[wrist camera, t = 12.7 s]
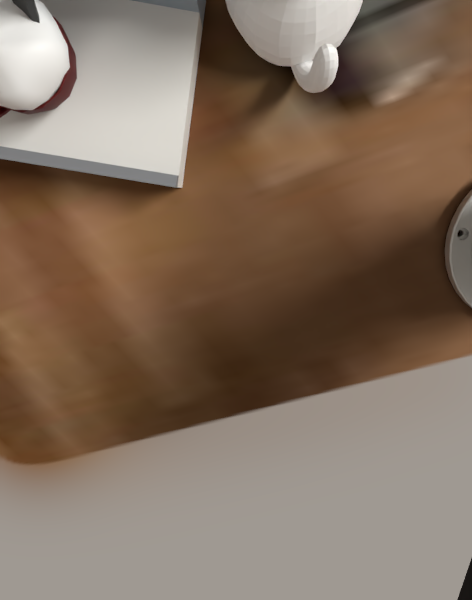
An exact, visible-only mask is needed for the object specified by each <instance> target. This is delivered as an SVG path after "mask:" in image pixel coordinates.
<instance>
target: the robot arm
mask: <svg viewBox="0 0 472 600" xmlns="http://www.w3.org/2000/svg"><path fill="white" fill-rule="evenodd" d="M459 230H460V235H459V236H457V233H458V231H459ZM445 264H446V269H447V273H448V276H449V280H450V282H451V284H452V286H453V287H454V289H455V291H456V293H457V294H458V295H459V296H460V298H461V299H462V300H463V301H464V302H465V303H466V304H467V305H468V306H470V307H471V308H472V190H471V191H470V192H469V193H468V194H467V196H466V197H465V198H464V200H463V201H462V202H461V203H460V205H459V206H458V208H457V210H456V212H455V214H454V216H453V218H452V220H451V223H450V226H449V229H448V232H447V236H446V243H445ZM458 600H472V559H471V562H470V565H469V568H468V571H467V573H466V576H465V580H464V582H463V586H462V588H461V591H460V594H459V597H458Z"/></svg>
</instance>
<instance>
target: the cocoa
mask: <svg viewBox="0 0 472 600" xmlns="http://www.w3.org/2000/svg"><path fill="white" fill-rule="evenodd" d="M76 79H77V69H76V55H75V52H74V50H73V48H72V45H71V43H70V41H69V39H68V37H67V35H66V33H65V31H64V29H63V27H62V25H61V24H60V23H59V22H58V20H57V19H56V18H55V17H53V16H52V15H51V14H50V12H49V11H48V9H47V8H46V6H45V5H44V4H43V3H42V2H41V1H39V0H0V118H1V117H2V116H4V115H5V114H7V113H8V112H9V111H11V110H12V111H16V112H20V113H23V114H27V115H28V114H35V113H39V112H44V111H49V110H53V109H56V108H57V107H58V106H59V105H60V104H61V103H63V102H64V101H65V100H66V99H67V98H68V97H70V94H71V92H72V89H73V87H74V84H75V82H76Z"/></svg>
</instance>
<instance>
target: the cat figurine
mask: <svg viewBox="0 0 472 600" xmlns="http://www.w3.org/2000/svg"><path fill="white" fill-rule="evenodd" d="M225 1H226V5H227V9H228V12H229V14H230V16H231V18H232V20H233V22H234V24H235V26H236V28H237V29H238V31H239V32H240V34H241V35H242V37H243V38H244V40H245V41H246V42H247V44H248V45H249V46H250V47H251V48H252V49H253V50H254V51H255V52H256V53H257V55H258V56H260V57H261V58H263V59H265V60H266V61H268V62H270V63H272V64H275V65H278V66H291V68H292V71H293V74H294V76H295V78H296V80H297V82H298V84H299V85H300V86H301V87H302V88H303V89H304V90H305V91H308V92H311V93H316V92H321V91H323V90H325V89H327V88H328V87H329V86H330V85H331V84H332V82H333V81H334V79H335V76H336V72H337V68H338V54H337V50H336V48H337V47H338V46H339V45H340V44H341V42H342V41H343V39H344V38H345V36H346V35H347V33H348V31H349V30H350V28H351V26H352V24H353V22H354V21H355V19H356V17H357V15H358V13H359V11H360V8H361V5H362V2H363V0H225Z"/></svg>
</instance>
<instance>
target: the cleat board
mask: <svg viewBox="0 0 472 600" xmlns="http://www.w3.org/2000/svg"><path fill="white" fill-rule="evenodd" d="M39 1H41V2H42V3H43V4H44V5H45V6H46V8H47V9H48V11H49V12H50V14H51V15H52V16H53V17H55V18H56V19H57V20H58V22H59V23H60V24H61V25H62V27H63V29H64V31H65V33H66V35H67V37H68V39H69V41H70V43H71V45H72V48H73V50H74V52H75V55H76V69H77V79H76V82H75V84H74V87H73V89H72V92H71V94H70V97H68V98H67V99H66V100H65V101H64V102H63V103H61V104H60V105H59V106H58V107H57V108H56V109H53V110H49V111H44V112H39V113H35V114H28V115H27V114H23V113H20V112H16V111H12V110H11V111H9V112H8V113H7V114H5V115H4V116H2V117H1V118H0V159H5V160H11V161H18V162H24V163H30V164H36V165H42V166H48V167H54V168H60V169H66V170H72V171H78V172H84V173H91V174H97V175H103V176H109V177H115V178H121V179H127V180H133V181H139V182H145V183H151V184H158V185H164V186H170V187H176V188H182V185H183V178H184V170H185V162H186V154H187V146H188V139H189V131H190V123H191V115H192V107H193V100H194V92H195V84H196V76H197V68H198V61H199V53H200V45H201V37H202V29H203V21H204V14H205V6H206V0H39Z"/></svg>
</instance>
